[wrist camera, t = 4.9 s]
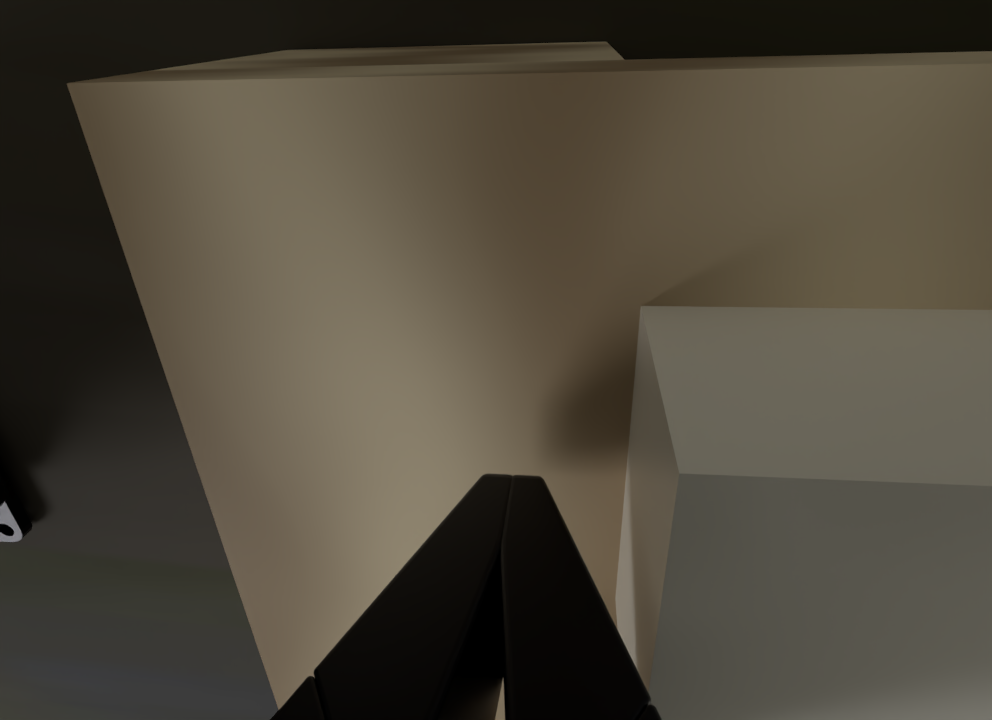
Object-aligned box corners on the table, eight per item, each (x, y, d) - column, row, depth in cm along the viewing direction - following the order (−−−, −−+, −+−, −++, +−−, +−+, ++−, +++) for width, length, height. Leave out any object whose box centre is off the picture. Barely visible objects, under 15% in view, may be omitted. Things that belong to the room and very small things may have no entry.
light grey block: (615, 598, 10) (630, 815, 7) (640, 305, 7) (678, 472, 5) (960, 619, 9) (1113, 862, 7) (1115, 311, 7) (1461, 504, 4)
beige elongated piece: (398, 688, 22) (344, 902, 16) (288, 49, 12) (66, 83, 7) (723, 716, 20) (774, 956, 15) (901, 33, 11) (1211, 59, 5)
